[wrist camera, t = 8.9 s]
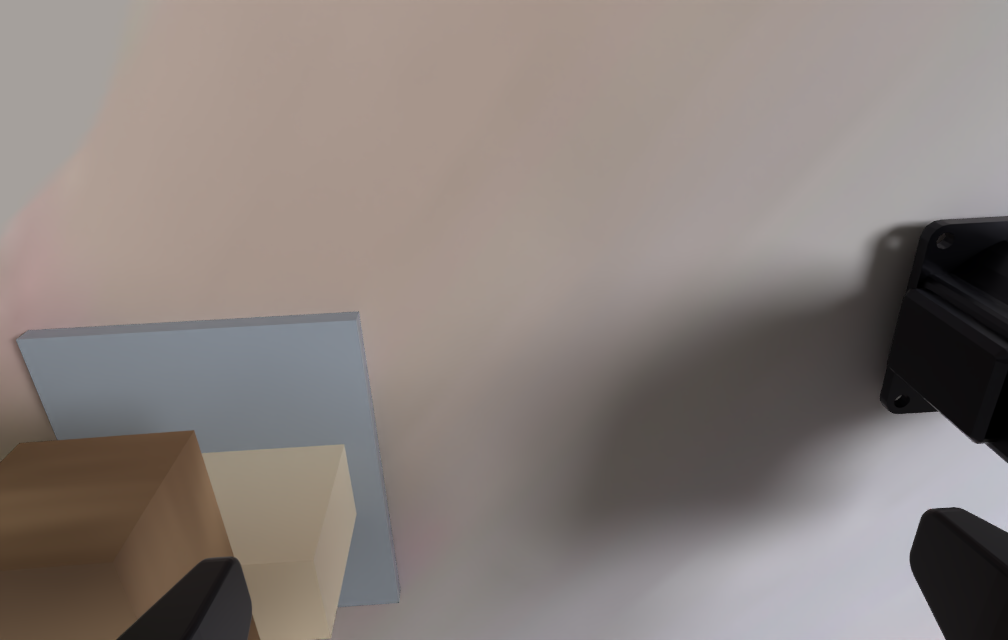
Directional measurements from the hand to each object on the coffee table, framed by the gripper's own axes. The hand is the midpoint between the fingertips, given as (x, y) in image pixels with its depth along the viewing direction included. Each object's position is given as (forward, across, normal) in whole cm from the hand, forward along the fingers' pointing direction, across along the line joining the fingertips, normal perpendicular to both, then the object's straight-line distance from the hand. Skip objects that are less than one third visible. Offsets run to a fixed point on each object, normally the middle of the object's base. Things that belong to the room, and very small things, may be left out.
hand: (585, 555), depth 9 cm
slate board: (+12, +10, +8) cm, 18 cm away
